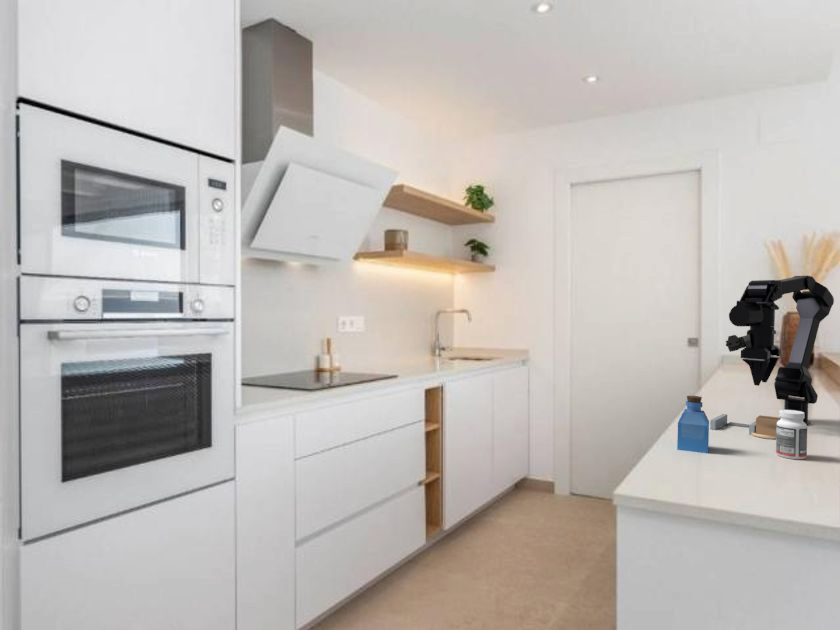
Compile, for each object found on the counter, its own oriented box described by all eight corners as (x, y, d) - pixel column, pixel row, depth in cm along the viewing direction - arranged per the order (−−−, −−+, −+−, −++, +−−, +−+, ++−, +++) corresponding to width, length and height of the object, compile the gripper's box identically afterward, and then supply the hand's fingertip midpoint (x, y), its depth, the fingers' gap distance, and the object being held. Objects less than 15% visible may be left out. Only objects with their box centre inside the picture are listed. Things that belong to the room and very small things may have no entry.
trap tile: (730, 423, 164) (730, 422, 164) (758, 426, 159) (758, 425, 159) (727, 424, 162) (727, 423, 162) (755, 428, 157) (755, 427, 157)
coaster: (754, 431, 154) (754, 428, 154) (789, 436, 148) (789, 433, 148) (747, 435, 148) (747, 433, 148) (783, 441, 142) (783, 438, 142)
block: (759, 430, 152) (759, 415, 152) (781, 433, 148) (782, 417, 148) (755, 433, 148) (756, 418, 148) (778, 436, 145) (779, 420, 145)
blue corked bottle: (677, 449, 132) (678, 397, 132) (679, 444, 138) (680, 393, 138) (707, 453, 130) (708, 399, 129) (708, 447, 135) (709, 396, 135)
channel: (722, 422, 164) (722, 413, 164) (764, 428, 157) (764, 419, 157) (710, 429, 155) (710, 419, 155) (754, 435, 148) (754, 425, 148)
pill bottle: (797, 453, 130) (798, 409, 130) (812, 460, 125) (813, 414, 124) (770, 452, 131) (771, 408, 131) (783, 459, 125) (785, 413, 125)
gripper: (737, 324, 170) (736, 378, 170) (720, 325, 156) (718, 383, 156) (782, 326, 163) (780, 381, 163) (767, 327, 149) (766, 388, 149)
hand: (760, 383), depth 158 cm, fingers open, 9 cm apart
